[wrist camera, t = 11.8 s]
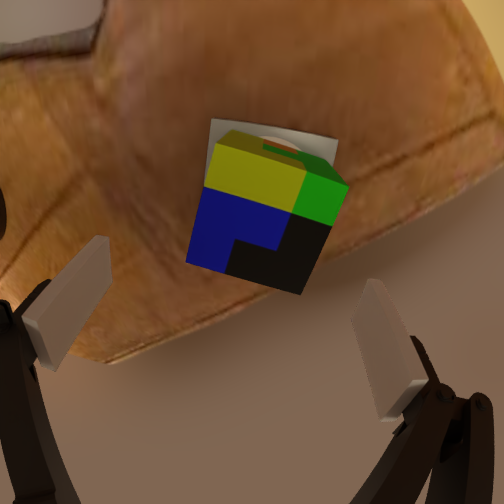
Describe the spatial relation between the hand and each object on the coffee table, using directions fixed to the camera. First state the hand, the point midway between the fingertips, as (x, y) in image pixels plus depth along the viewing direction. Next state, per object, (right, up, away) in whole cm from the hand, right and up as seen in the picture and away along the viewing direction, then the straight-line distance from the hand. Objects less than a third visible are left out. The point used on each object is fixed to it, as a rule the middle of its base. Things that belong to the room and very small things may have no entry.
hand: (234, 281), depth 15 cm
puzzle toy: (+2, +8, +17) cm, 19 cm away
